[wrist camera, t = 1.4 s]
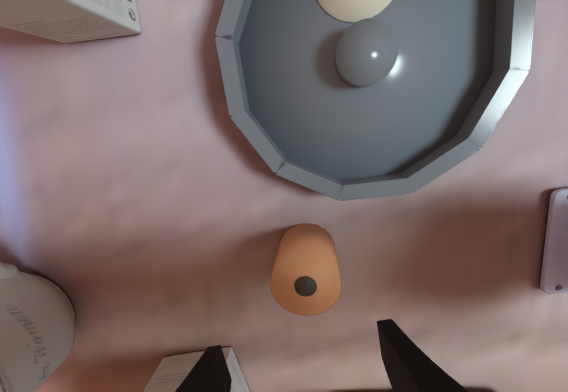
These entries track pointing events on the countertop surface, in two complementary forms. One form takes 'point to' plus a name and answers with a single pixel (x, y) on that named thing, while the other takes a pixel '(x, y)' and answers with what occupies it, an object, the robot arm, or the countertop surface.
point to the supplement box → (179, 366)
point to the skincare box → (71, 18)
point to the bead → (306, 271)
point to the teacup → (32, 329)
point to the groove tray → (370, 85)
